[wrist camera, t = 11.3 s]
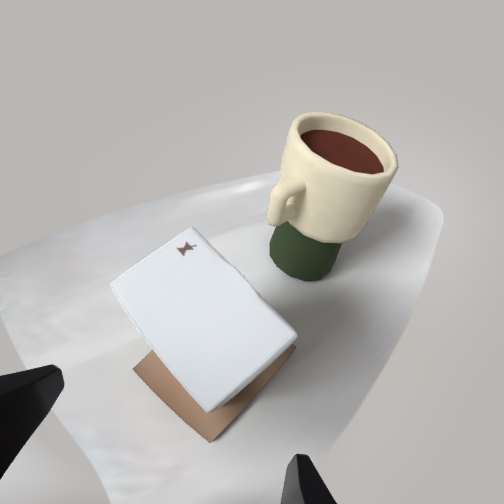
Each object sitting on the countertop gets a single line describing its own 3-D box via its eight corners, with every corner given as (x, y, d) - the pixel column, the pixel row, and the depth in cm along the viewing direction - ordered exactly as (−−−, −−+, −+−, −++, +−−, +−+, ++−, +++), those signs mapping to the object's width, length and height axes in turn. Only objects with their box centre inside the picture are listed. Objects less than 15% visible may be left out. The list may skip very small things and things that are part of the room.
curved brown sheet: (210, 442, 16) (209, 443, 16) (134, 370, 18) (132, 369, 18) (294, 348, 21) (296, 346, 20) (219, 288, 23) (219, 285, 22)
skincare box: (166, 350, 19) (104, 279, 9) (208, 317, 21) (192, 219, 11) (219, 411, 17) (207, 418, 7) (262, 374, 19) (305, 330, 9)
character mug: (315, 208, 29) (352, 103, 18) (361, 254, 26) (425, 155, 15) (231, 254, 25) (238, 129, 14) (280, 316, 22) (332, 211, 11)
